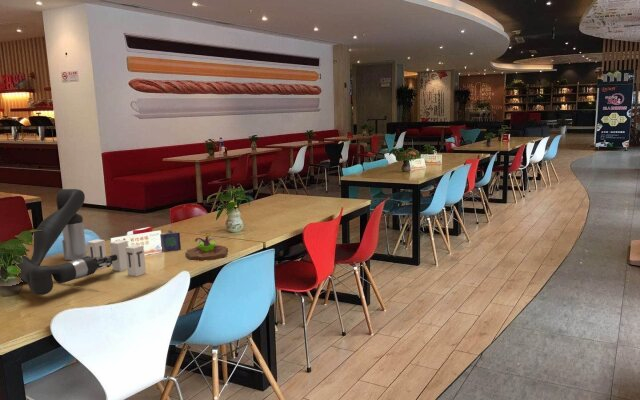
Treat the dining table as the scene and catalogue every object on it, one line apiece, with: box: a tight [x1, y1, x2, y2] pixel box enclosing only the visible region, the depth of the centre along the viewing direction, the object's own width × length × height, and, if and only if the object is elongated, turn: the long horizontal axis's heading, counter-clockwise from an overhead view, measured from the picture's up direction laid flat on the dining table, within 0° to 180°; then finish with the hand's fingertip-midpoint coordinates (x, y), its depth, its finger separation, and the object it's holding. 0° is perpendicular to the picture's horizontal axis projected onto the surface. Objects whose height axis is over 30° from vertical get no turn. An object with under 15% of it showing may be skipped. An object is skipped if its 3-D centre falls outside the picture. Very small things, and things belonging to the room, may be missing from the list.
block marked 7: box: [125, 244, 147, 277], centre depth 215 cm, size 5×5×12 cm
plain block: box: [109, 239, 129, 272], centre depth 223 cm, size 5×5×12 cm
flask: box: [159, 228, 182, 253], centre depth 257 cm, size 9×3×11 cm, turn 109°
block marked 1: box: [86, 238, 108, 270], centre depth 227 cm, size 5×5×12 cm
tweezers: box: [196, 236, 216, 244], centre depth 277 cm, size 17×5×2 cm, turn 157°
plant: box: [184, 233, 229, 262], centre depth 246 cm, size 20×20×11 cm
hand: (115, 257), depth 220 cm, fingers closed
